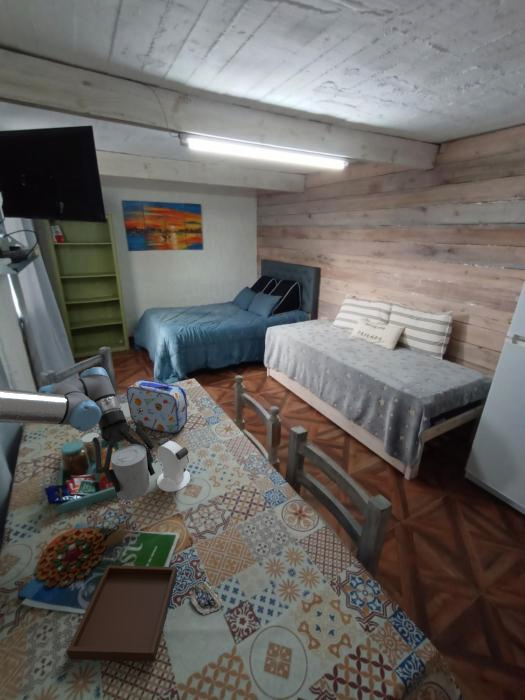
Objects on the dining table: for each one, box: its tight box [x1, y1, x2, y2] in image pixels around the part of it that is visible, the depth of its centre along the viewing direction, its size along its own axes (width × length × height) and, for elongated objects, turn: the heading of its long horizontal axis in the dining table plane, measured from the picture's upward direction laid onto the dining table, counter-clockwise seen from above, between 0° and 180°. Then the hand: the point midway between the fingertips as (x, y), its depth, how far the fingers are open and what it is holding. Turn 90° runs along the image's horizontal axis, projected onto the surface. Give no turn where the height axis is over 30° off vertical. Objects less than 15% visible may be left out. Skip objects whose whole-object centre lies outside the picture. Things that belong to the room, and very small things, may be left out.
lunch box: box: [126, 378, 190, 434], centre depth 139 cm, size 28×10×22 cm, turn 73°
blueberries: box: [189, 581, 223, 616], centre depth 76 cm, size 7×8×2 cm
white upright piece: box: [156, 436, 191, 493], centre depth 110 cm, size 12×11×15 cm
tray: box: [66, 564, 178, 663], centre depth 73 cm, size 18×18×3 cm
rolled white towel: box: [110, 444, 151, 501], centre depth 94 cm, size 10×10×12 cm
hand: (136, 482), depth 93 cm, fingers closed on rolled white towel, 9 cm apart
